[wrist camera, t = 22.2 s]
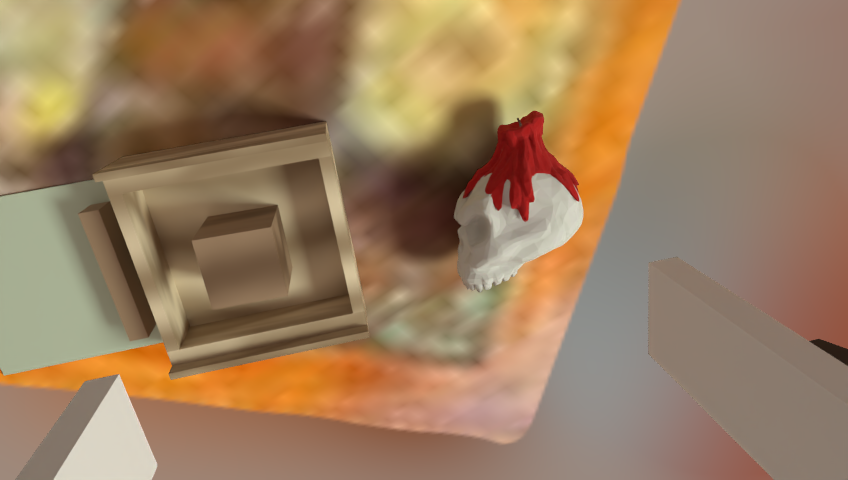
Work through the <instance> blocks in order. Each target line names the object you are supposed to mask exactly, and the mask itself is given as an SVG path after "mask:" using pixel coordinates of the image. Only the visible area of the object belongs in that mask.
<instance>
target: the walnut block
mask: <svg viewBox="0 0 848 480" xmlns="http://www.w3.org/2000/svg"><path fill="white" fill-rule="evenodd" d="M192 244H193V248H194V251H195V254H196V257H197V261H198V264H199V267H200V271H201V274H202V277H203V280H204V284H205V287H206V290H207V294H208V297H209V300H210V303H211V307H212V310H215V309H220V308H226V307H231V306H237V305H242V304H247V303H253V302H258V301H264V300H269V299H275V298H280V297H286V296H288V292H289V286H290V280H291V274H292V268H293V267H292V263H291V258H290V254H289V250H288V246H287V241H286V237H285V233H284V229H283V224H282V220H281V216H280V212H279V208H278V205H275V206H269V207H263V208H257V209H251V210H245V211H239V212H233V213H227V214H221V215H215V216H209V217H207V218H206V220H205V221H204V223H203V224H202V226H201V227H200V229H199V230H198V232H197V233H196V235H195V236H194V238H193V239H192Z"/></svg>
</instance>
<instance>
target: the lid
mask: <svg viewBox="0 0 848 480" xmlns="http://www.w3.org/2000/svg"><path fill="white" fill-rule="evenodd" d="M162 342H163V340H162V337H161V334H160V332H159V329H158V326H157V324H156V321H155V319H154V316H153V313H152V311H151V308H150V305H149V303H148V300H147V297H146V295H145V292H144V289H143V287H142V284H141V281H140V279H139V276H138V274H137V271H136V268H135V266H134V263H133V260H132V258H131V255H130V252H129V250H128V247H127V244H126V242H125V239H124V236H123V234H122V231H121V228H120V226H119V223H118V221H117V218H116V215H115V213H114V210H113V207H112V205H111V202H110V199H109V197H108V194H107V191H106V189H105V186H104V183H103V181H101V182H95V181H94V179H93V180H88V181H82V182H76V183H71V184H65V185H60V186H54V187H49V188H43V189H38V190H32V191H27V192H21V193H15V194H10V195H4V196H0V369H1V371H2V372H3V374H4V375H9V374H14V373H19V372H23V371H28V370H33V369H38V368H42V367H47V366H52V365H57V364H62V363H66V362H71V361H76V360H81V359H85V358H90V357H95V356H100V355H105V354H109V353H114V352H119V351H124V350H128V349H133V348H138V347H143V346H148V345H152V344H157V343H162Z"/></svg>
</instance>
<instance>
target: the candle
mask: <svg viewBox="0 0 848 480" xmlns="http://www.w3.org/2000/svg"><path fill="white" fill-rule="evenodd" d="M517 120H518V122H514V123H511V124H508V125H500V126H499V128H498V131H497V133H498V143H497V146H496V150H495V152H494V154H493V156H492V158H491V159H490V161H489V162H488V163H487V164H486V165H484V166H483V167H482V168H480V169H478V170H477V171H476V173H475V174H474V176H473V178H472V179H471V180H470V181H469V182H468V184H467V187H466V189H465V190H464V191H463V192H462V194H461V195H460V197H459V198H458V201H457V204H456V208H455V213H454V218H455V220H456V221H458V223H459V224H460V225H461V227H460V228H459V229H458V235H459V239H460V243H459V246H458V264H457V266H458V273H459V275H460V277H461V278H462V281H463V283H464V285H465V286H466V287H467V289H471V290H472V291H473V290H475V286H476V289H477V291H478V292H482V290H483V287H484V289H485V290H487V289H490V288H491V286H492V282H493V284H494V285H498V284H500V283H501V281H502V280H503V281H507V280H509V278H510V276H511V277H514V276H515V274H517V270H518V269H519V268H520V267H521V266H522V265H523V264H524V263H525V262H528V261H531V260H534V259H536V258H538V257H539V256H541V255H543V254H545V253H547V252H549V251H551V250H553V249H555V248H557V247H560V246H562V245H563V244H564V243H566V242H567V241H568V240H569V239H570V238H571V237H572V236H573V235H574V234H575V232H576V231H577V230H578V228H579V227H580V226H581V223H582V219H583V206H582V202H581V198H580V196H579V193H578V189H577V185H579V184H578V182H577V180H576V178H575V177H574V175H573V174H572V173H571V172H570V171H569V170H568V169H566V168H565V167H564V166H563V165H561V164H560V163H559V162H558V161H557V160H556V158H555V157H554V156H553V155H552V154H550V153H549V152H548V151H547V149H546V148H545V145H544V143H543V140H542V137H541V136H542V134H543V123H544V117H543V114H542V113H540V112H537V111H532V112H531V113H530V114H528V115H527V116H525V117H523V118H522V119H521V120H519V118H517Z"/></svg>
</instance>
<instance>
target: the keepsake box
mask: <svg viewBox="0 0 848 480" xmlns="http://www.w3.org/2000/svg"><path fill="white" fill-rule="evenodd" d="M92 175H93V178H94V181H95V182H101V181H103V183H104V186H105V189H106V191H107V194H108V197H109V199H110V202H111V205H112V207H113V210H114V213H115V215H116V218H117V221H118V223H119V226H120V228H121V231H122V234H123V236H124V239H125V242H126V244H127V247H128V250H129V252H130V255H131V258H132V260H133V263H134V266H135V268H136V271H137V274H138V276H139V279H140V281H141V284H142V287H143V289H144V292H145V295H146V297H147V300H148V303H149V305H150V308H151V311H152V313H153V316H154V319H155V321H156V324H157V326H158V329H159V332H160V334H161V337H162V340H163V342H164V345H165V348H166V350H167V353H168V356H169V358H170V361H171V364H172V368H171V370H170V372H169V376H170V379H171V380H172V379H177V378H181V377H186V376H191V375H196V374H200V373H205V372H210V371H214V370H219V369H224V368H228V367H233V366H238V365H242V364H247V363H252V362H256V361H261V360H266V359H270V358H275V357H280V356H285V355H289V354H294V353H299V352H303V351H308V350H313V349H317V348H322V347H327V346H331V345H336V344H341V343H345V342H350V341H355V340H360V339H364V338H369V330H368V322H367V315H366V307H365V301H364V297H363V292H362V287H361V283H360V278H359V273H358V268H357V264H356V259H355V254H354V250H353V245H352V240H351V236H350V231H349V226H348V221H347V217H346V212H345V207H344V203H343V198H342V193H341V188H340V184H339V179H338V174H337V170H336V165H335V160H334V155H333V151H332V146H331V141H330V137H329V132H328V127H327V123H326V122H320V123H314V124H308V125H303V126H297V127H291V128H285V129H280V130H274V131H268V132H262V133H257V134H251V135H245V136H239V137H234V138H228V139H222V140H217V141H211V142H205V143H199V144H194V145H188V146H182V147H176V148H171V149H165V150H159V151H153V152H148V153H142V154H136V155H130V156H125V157H121V158H120V159H118V160H116V161H114V162H113V163H111V164H109V165H108V166H106V167H104V168H102V169H101V170H99V171H97V172H96V173H94V174H92ZM275 205H278V208H279V212H280V216H281V220H282V224H283V229H284V233H285V237H286V241H287V246H288V250H289V254H290V258H291V263H292V267H293V268H292V274H291V280H290V286H289V292H288V296H286V297H280V298H275V299H269V300H264V301H258V302H253V303H247V304H242V305H237V306H231V307H226V308H220V309H215V310H212V307H211V303H210V300H209V297H208V294H207V290H206V287H205V284H204V280H203V277H202V274H201V271H200V267H199V264H198V261H197V257H196V254H195V251H194V248H193V244H192V239H193V238H194V236H195V235H196V233H197V232H198V230H199V229H200V227H201V226H202V224H203V223H204V221H205V220H206V218H207V217H209V216H215V215H221V214H227V213H233V212H239V211H245V210H251V209H257V208H263V207H269V206H275Z"/></svg>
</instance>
